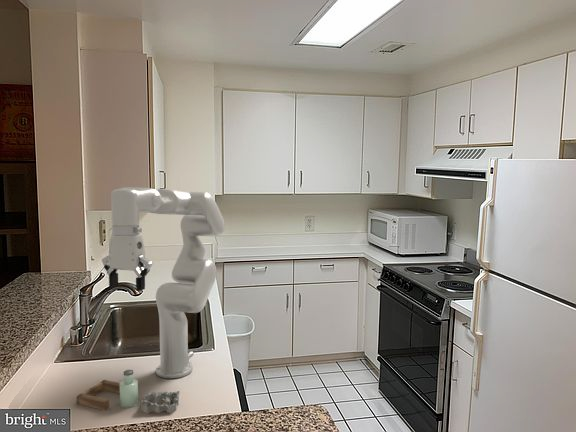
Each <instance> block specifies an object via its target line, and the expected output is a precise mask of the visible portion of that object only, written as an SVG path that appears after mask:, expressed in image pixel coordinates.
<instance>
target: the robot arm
mask: <svg viewBox="0 0 576 432" xmlns="http://www.w3.org/2000/svg"><path fill="white" fill-rule="evenodd" d="M110 194H111V195H110V198H111V201H110V202H111V233H112V235H110V239H109V245H108V246H109V247H108V255H106V256H105V257H103V258H102V259H101V262H102V265H103V268H104V270H105V271H106V274H107V275H108V288H109V289H113V288H116V287H118V286H119V273H118V270H119V271H120V270H121V271H134V273H135V274H136V275H135V276H137V277H136V278H135V291H136V292H140V291H143V290H145V289H146V276H147V275H148V274H149V272H150V270H151V267H152V265H153V263H152V261H150V260H149V259H148V258H146V251H145V243H144V239H143V236H142V235H140V234H141V233H142V231H143V229H142V227H140V213H149V214H155V215H179V216H182V218H181V220H180V231H181V235H182V242H183V244H182V248H181V250H180V253H179V255H178V257H177V259H176V261H175V264H174V265H173V267H172V269H171V270H172V271H171V278H172V280H173V281H174V282H165V283H162V284H161V285H159V286H158V288H157V290H156V293H155V302H156V306H157V310H158V319H159V349H160V350H159V357H160V358H159V361H160V362H159V363H160V364H159V365H157V367H156V368H155V375H156V376H158V377H159V378H163V379H178V378H183V377H185V376H187V375H190V373H192V371H193V364H192V363H191V362H190V361H189V360H190V358H192V357H193V356H194V355H195V354H194V352H193V351H192V350H191V351H189V346H188V343H189V340H188V339H189V338H188V333H189V332H188V326H189V325H188V319H187V316H186V313H189V314H190V313H191V314H197V313H200V312H202V310H203V309H204V308H205V307H206V304H207V301H208V299H209V296H210V294H211V292H212V289H213V286H214V284H215V281H216V278H217V267H216V264H215V262H213V261H212V260H210V259H207V258H206V259H205V258H204V257H205V254H206V249H205V246H204V243H203V242H202V240H201V238H200V237H210V238H211V237H212V238H215V237H216V238H217V237H219V236H222V234H223V233H224V231H225V226H226V225H225V220H224V217H223V214H222V212H221V210H220V208H219V206H218V204H217V202H216V201H215V199H214V197H213V196H212V195H211V194H210V193H209V192H205V191H187V190H176V189H168V188H165V189H164V188H163V189H161V188H159V189H157V188H156V189H154V188H151V187H121V188H116V189H114V190H112V191H111V193H110Z"/></svg>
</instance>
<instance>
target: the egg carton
mask: <svg viewBox="0 0 576 432" xmlns="http://www.w3.org/2000/svg"><path fill="white" fill-rule="evenodd" d="M179 396H180V390H177V391H173V392H171V391H161V392H158V391H154V390H153V391H150V392H147V393H146V394H145V395H144V397H143V399H142V400H140V401H139V403H141V409H140V410H141V412H142V413H144V414H149V413H150V412H155V413H156V414H160V413H161V412H166V413H168V414H171V413H173V412H175V411H177V410H178V409H177V407H178V406H179V404H180V399H179V398H180V397H179ZM171 403H172V404H171ZM158 404H160V405H158Z"/></svg>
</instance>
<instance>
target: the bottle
mask: <svg viewBox="0 0 576 432" xmlns="http://www.w3.org/2000/svg"><path fill="white" fill-rule="evenodd" d="M133 374H134V370H133V369H126V370H124V371H123V378H124V379H123V380H122V381H120V382H119V383H120V393H119V406H120V407H121V408H125V409H126V408H128V409H129V408H133V407H135V406H137V405H138V403H139V381H138V380H137V379H135V378H133V376H134V375H133Z"/></svg>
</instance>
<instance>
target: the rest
mask: <svg viewBox="0 0 576 432" xmlns="http://www.w3.org/2000/svg"><path fill="white" fill-rule="evenodd" d="M102 391H106V392H111V393H116V394H120V382H118V381H117V382H116V381H111V380H107V379H103V380H101V381H100V382H98V383H96V384H95V385H92V387H89V388H88V389H86V390H85V391H83V392H81V393H79V394H78V395H76V404H77V405H81V406H85V407H89V408H94V409H98V410H102V411H103V410H104V411H106V410H108V409H109V408H110V399H108V398H104V397H100V396H99V397H98V396H96V395H98V394H99V393H101V392H102Z"/></svg>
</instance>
